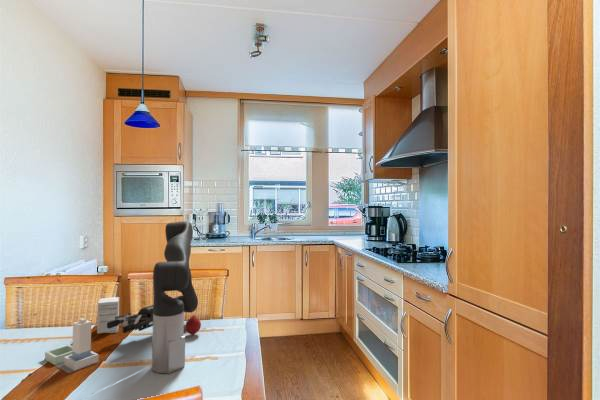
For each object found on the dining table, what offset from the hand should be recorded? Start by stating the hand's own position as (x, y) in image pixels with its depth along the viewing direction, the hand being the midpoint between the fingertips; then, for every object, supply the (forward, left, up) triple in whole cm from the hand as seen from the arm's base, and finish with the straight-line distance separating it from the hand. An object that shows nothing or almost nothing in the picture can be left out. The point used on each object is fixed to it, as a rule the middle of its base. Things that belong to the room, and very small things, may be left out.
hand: (115, 327), depth 116 cm
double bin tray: (+3, +12, -8) cm, 15 cm away
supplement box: (+21, -9, -8) cm, 25 cm away
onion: (-11, -25, -8) cm, 29 cm away
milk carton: (-1, +11, -8) cm, 14 cm away
